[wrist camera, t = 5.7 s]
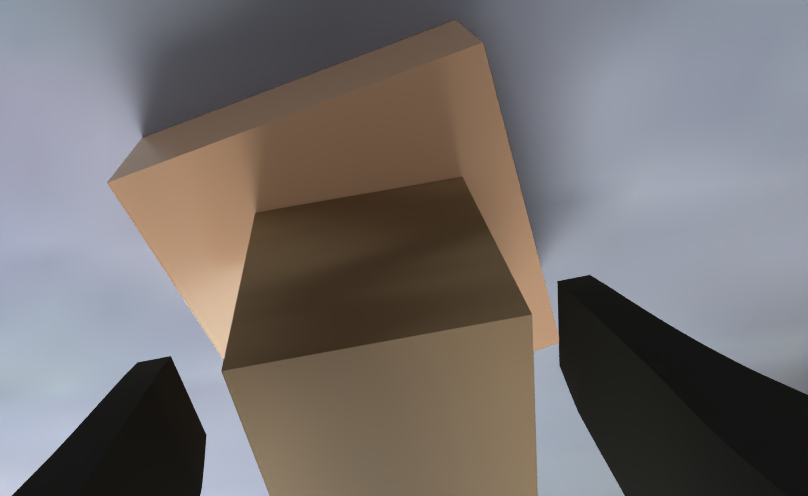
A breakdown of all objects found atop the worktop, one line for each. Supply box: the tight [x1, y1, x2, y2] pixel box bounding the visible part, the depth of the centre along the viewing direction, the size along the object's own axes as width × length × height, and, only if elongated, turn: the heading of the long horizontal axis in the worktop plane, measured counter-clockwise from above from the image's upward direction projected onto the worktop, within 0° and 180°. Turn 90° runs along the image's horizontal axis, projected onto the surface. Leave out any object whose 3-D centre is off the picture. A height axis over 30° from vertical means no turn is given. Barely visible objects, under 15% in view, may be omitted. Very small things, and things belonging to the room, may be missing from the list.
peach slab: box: [107, 20, 559, 360], centre depth 15 cm, size 8×8×3 cm
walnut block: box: [222, 177, 538, 496], centre depth 12 cm, size 4×4×5 cm
